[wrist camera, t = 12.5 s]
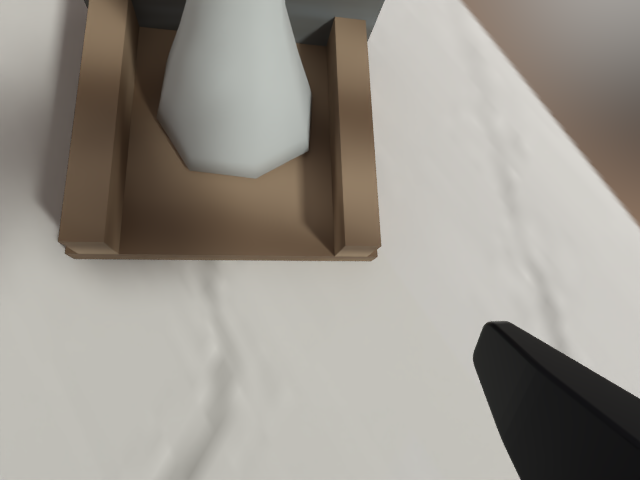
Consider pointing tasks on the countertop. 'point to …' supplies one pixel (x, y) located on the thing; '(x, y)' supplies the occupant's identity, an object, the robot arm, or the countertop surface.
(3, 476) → the countertop surface
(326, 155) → the stand
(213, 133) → the flask
